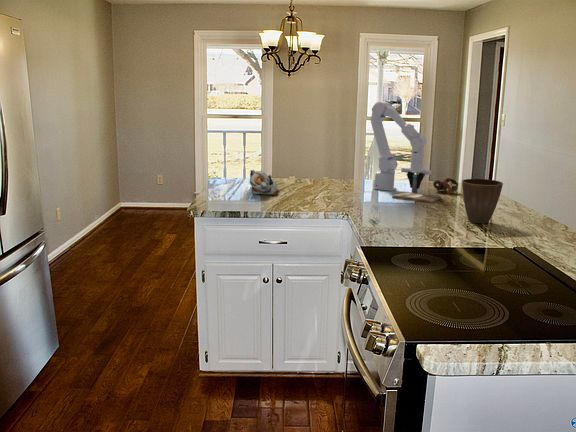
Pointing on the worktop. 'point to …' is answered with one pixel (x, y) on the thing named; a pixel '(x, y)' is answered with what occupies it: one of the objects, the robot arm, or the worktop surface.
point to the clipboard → (417, 197)
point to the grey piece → (262, 183)
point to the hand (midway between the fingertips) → (414, 187)
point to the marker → (414, 183)
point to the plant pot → (480, 198)
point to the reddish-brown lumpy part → (446, 185)
